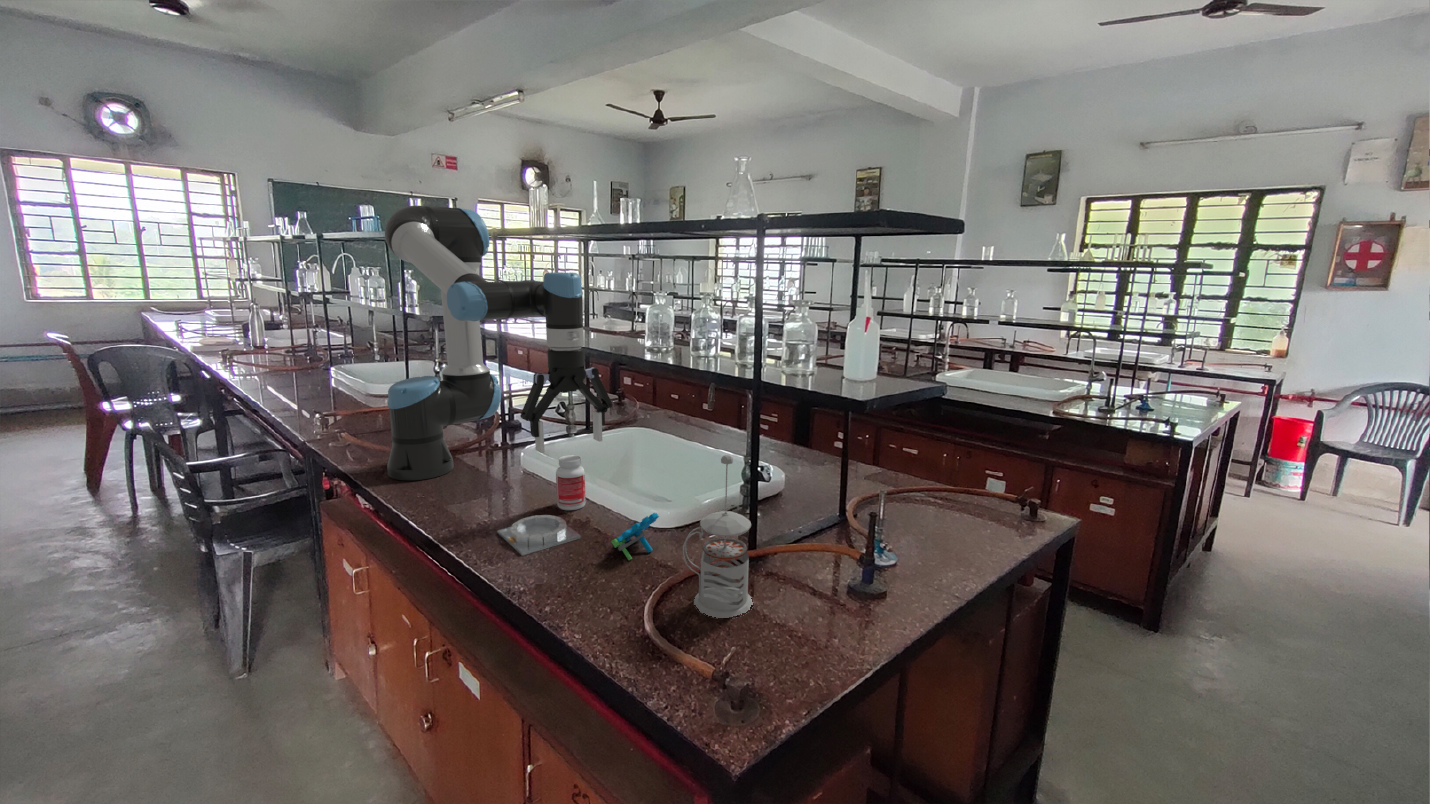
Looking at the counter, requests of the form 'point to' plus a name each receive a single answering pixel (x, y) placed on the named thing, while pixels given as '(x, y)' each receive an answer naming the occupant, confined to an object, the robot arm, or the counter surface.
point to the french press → (723, 563)
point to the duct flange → (538, 533)
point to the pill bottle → (570, 483)
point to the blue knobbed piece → (637, 532)
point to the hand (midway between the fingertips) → (569, 445)
